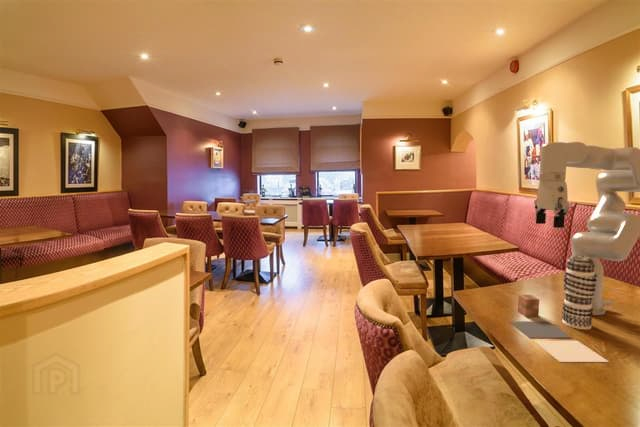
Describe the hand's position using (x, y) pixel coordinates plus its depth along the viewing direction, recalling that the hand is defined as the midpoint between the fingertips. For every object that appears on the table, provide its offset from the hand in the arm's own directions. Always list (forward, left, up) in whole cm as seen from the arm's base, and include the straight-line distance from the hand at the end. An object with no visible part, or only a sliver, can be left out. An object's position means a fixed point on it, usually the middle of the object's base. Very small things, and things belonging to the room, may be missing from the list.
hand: (549, 225), depth 114 cm
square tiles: (+6, +13, -36) cm, 39 cm away
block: (+2, -7, -36) cm, 37 cm away
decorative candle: (-10, +2, -37) cm, 38 cm away
